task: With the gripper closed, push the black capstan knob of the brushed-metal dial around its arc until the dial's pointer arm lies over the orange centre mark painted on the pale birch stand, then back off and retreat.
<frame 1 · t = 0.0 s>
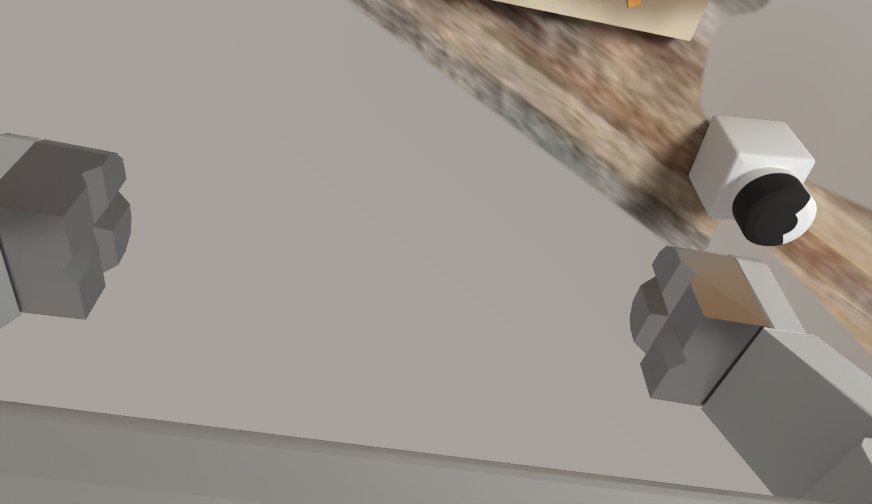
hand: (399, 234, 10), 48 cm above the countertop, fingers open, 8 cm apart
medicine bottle: (733, 148, 64), on the countertop
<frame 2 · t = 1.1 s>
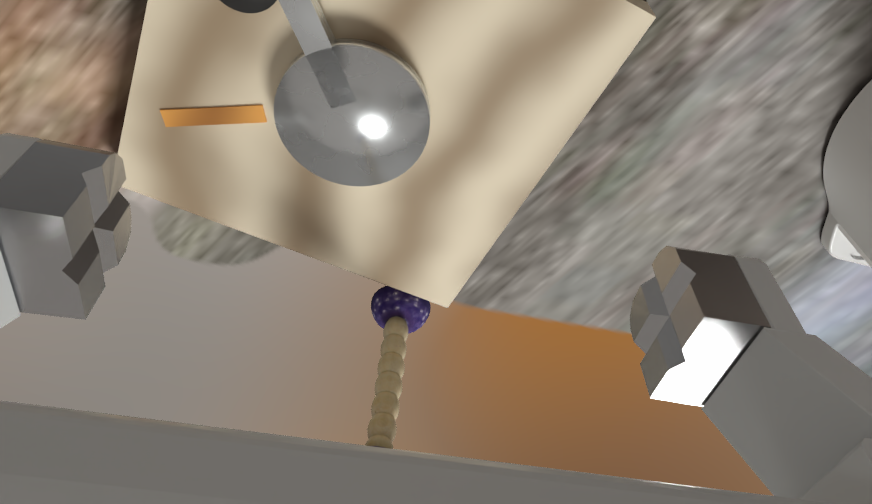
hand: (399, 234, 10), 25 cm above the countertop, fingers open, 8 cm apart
capstan dial: (319, 78, 30), point 5 cm above the countertop, hinge at -45.0°
toy lamp: (403, 305, 47), on the countertop
birch stand: (360, 91, 36), on the countertop
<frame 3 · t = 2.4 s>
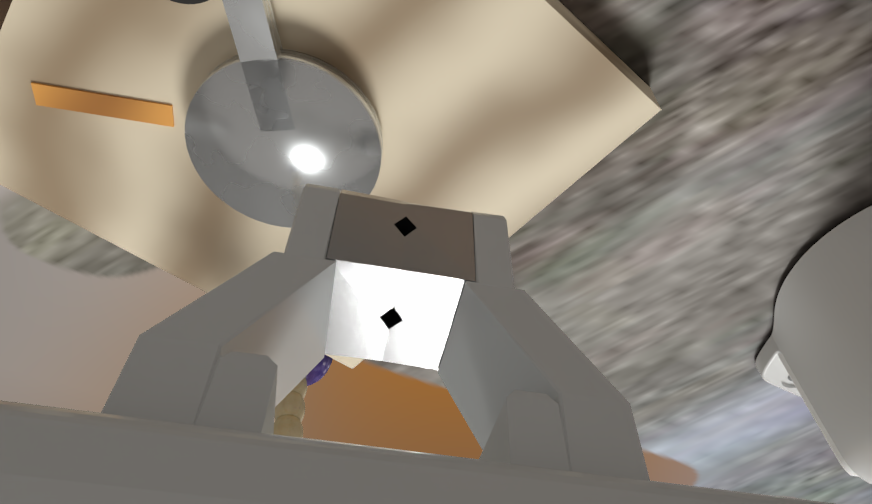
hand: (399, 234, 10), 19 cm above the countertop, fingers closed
capstan dial: (254, 97, 23), point 5 cm above the countertop, hinge at -45.0°
toy lamp: (300, 353, 40), on the countertop
birch stand: (299, 112, 29), on the countertop
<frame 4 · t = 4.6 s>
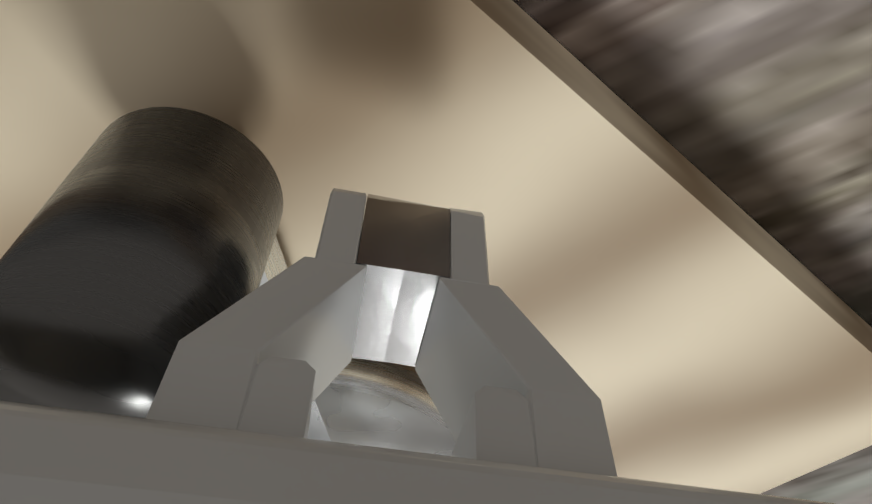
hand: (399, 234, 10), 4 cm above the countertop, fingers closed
capstan dial: (270, 471, 13), point 5 cm above the countertop, hinge at -43.2°, touching gripper
birch stand: (338, 377, 19), on the countertop
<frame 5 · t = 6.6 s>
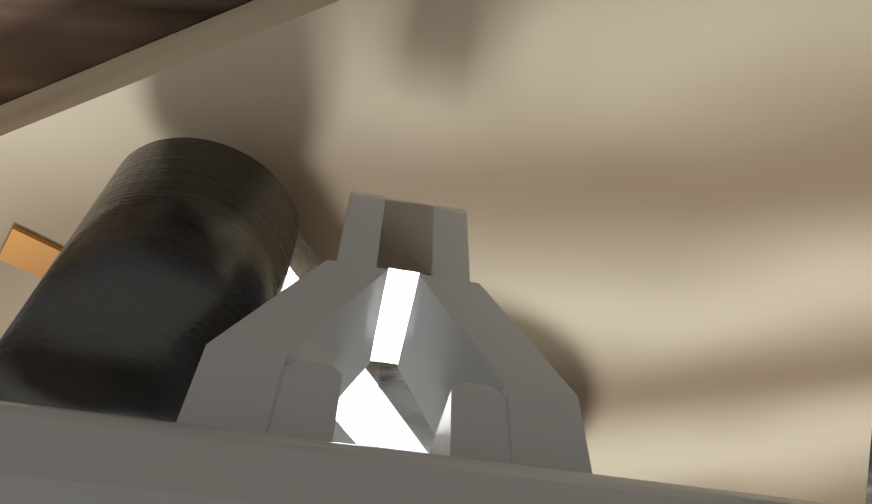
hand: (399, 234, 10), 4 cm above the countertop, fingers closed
capstan dial: (354, 475, 13), point 5 cm above the countertop, hinge at 1.2°, touching gripper
birch stand: (424, 374, 19), on the countertop
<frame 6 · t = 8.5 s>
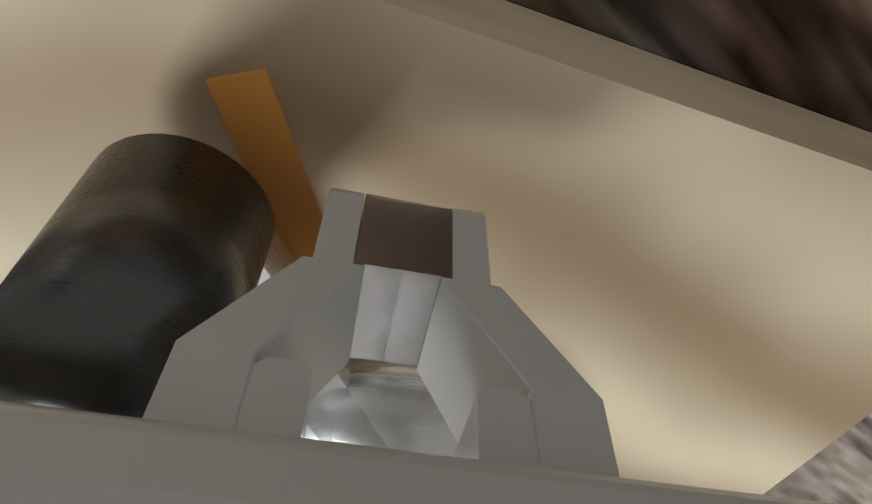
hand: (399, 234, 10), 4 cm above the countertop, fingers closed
capstan dial: (319, 477, 13), point 5 cm above the countertop, hinge at 37.8°, touching gripper
birch stand: (394, 377, 19), on the countertop
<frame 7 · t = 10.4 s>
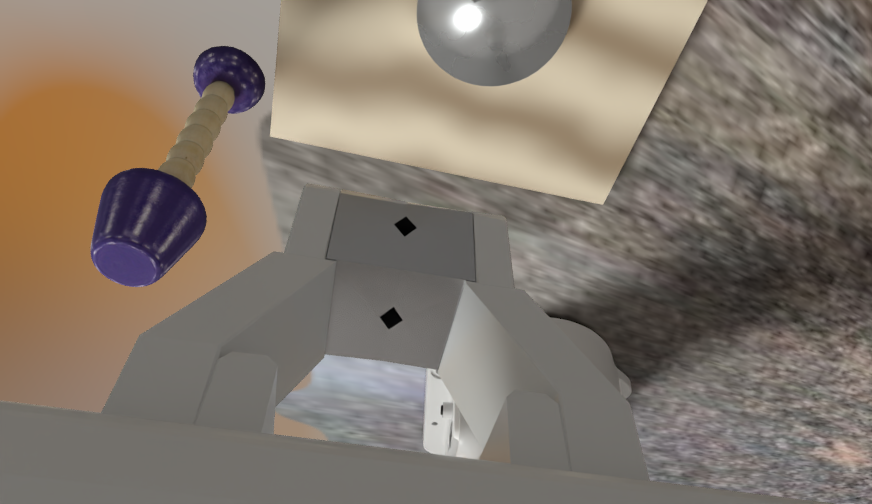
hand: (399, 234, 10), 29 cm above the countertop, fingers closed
toy lamp: (227, 79, 40), on the countertop
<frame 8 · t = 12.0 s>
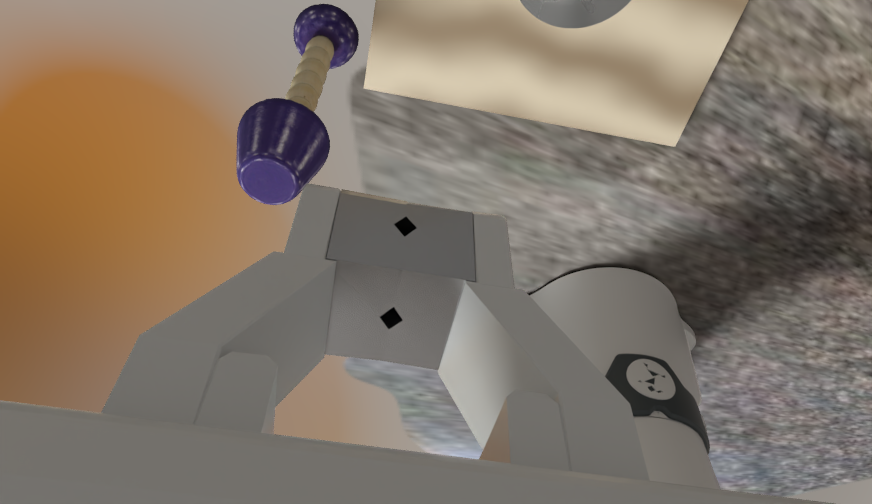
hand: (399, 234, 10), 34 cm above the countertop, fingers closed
toy lamp: (323, 37, 43), on the countertop
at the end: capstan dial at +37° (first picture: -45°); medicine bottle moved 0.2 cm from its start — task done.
